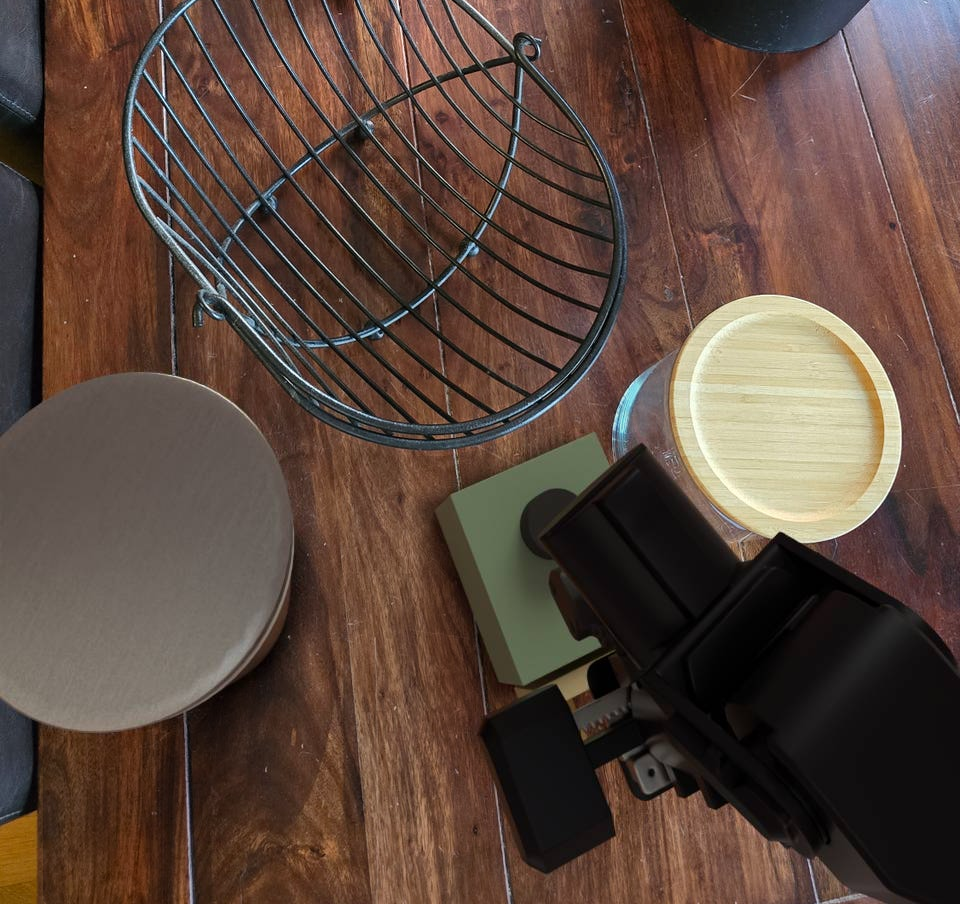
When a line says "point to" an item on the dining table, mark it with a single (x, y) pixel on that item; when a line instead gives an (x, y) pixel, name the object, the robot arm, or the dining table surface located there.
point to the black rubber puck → (542, 517)
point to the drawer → (568, 678)
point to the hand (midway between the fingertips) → (638, 695)
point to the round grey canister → (137, 552)
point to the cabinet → (517, 561)
